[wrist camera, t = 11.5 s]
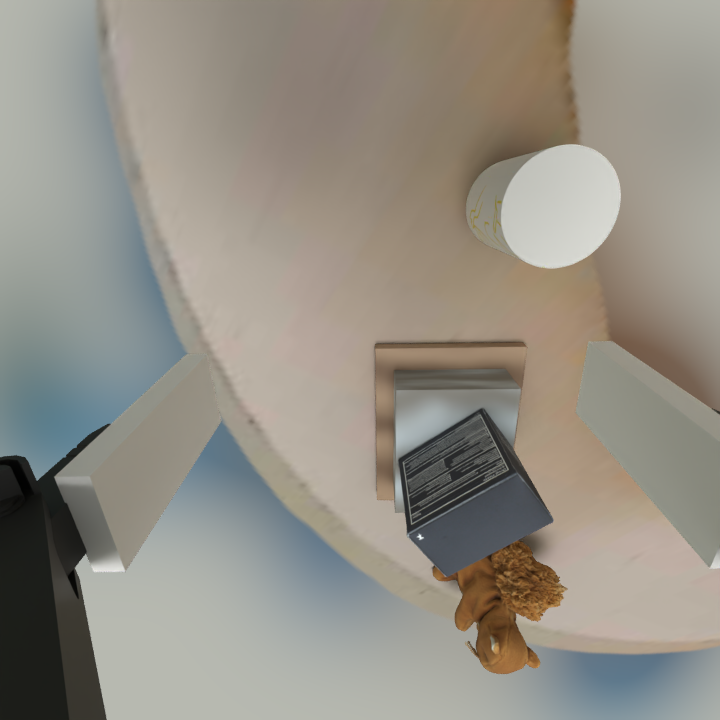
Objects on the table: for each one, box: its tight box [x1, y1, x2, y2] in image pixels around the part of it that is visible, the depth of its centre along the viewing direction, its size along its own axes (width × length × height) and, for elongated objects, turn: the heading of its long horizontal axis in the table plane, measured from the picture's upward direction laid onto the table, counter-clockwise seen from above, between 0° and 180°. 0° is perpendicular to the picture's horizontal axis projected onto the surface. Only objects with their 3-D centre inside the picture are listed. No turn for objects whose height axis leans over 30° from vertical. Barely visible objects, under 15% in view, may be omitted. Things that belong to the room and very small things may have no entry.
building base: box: [375, 342, 527, 513], centre depth 46 cm, size 20×16×6 cm
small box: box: [398, 409, 553, 577], centre depth 38 cm, size 11×6×10 cm, turn 128°
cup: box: [466, 144, 621, 268], centre depth 35 cm, size 8×8×12 cm
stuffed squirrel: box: [433, 540, 567, 674], centre depth 51 cm, size 10×14×13 cm
